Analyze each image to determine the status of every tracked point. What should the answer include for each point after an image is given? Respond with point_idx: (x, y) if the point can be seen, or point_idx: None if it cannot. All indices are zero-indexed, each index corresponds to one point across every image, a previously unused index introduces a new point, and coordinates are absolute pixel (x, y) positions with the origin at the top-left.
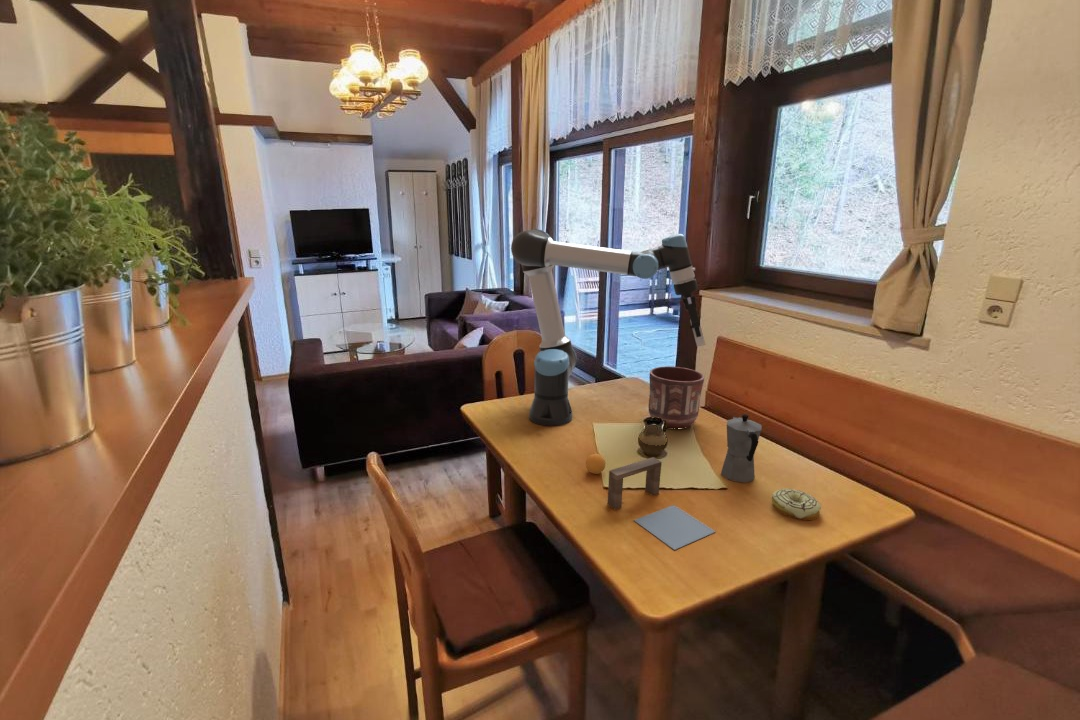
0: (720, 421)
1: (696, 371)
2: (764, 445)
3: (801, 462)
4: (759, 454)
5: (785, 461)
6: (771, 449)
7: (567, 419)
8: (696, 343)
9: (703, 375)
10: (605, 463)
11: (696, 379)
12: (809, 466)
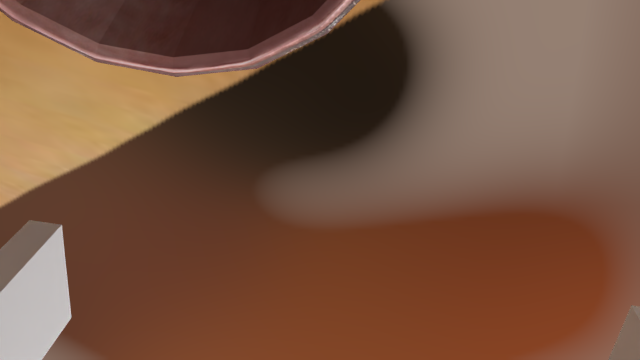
0: None
1: (283, 42)
2: (113, 118)
3: (24, 175)
4: (17, 80)
5: (4, 138)
6: (86, 129)
7: None
8: (4, 251)
9: (186, 74)
10: None
11: (267, 5)
12: (6, 184)
